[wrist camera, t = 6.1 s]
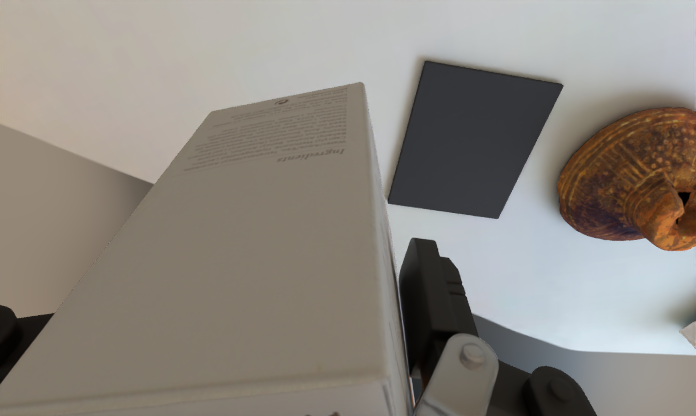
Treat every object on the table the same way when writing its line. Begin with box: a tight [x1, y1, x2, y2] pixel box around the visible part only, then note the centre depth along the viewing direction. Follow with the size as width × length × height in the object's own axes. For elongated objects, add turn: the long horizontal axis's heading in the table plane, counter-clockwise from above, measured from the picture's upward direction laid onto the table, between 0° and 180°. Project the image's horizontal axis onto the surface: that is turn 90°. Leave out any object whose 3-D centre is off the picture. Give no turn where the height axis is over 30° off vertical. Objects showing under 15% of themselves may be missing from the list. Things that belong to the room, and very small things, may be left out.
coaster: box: [388, 61, 563, 219], centre depth 30 cm, size 10×12×1 cm
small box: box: [0, 82, 415, 416], centre depth 11 cm, size 8×6×10 cm
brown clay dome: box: [557, 107, 696, 251], centre depth 28 cm, size 12×12×7 cm
